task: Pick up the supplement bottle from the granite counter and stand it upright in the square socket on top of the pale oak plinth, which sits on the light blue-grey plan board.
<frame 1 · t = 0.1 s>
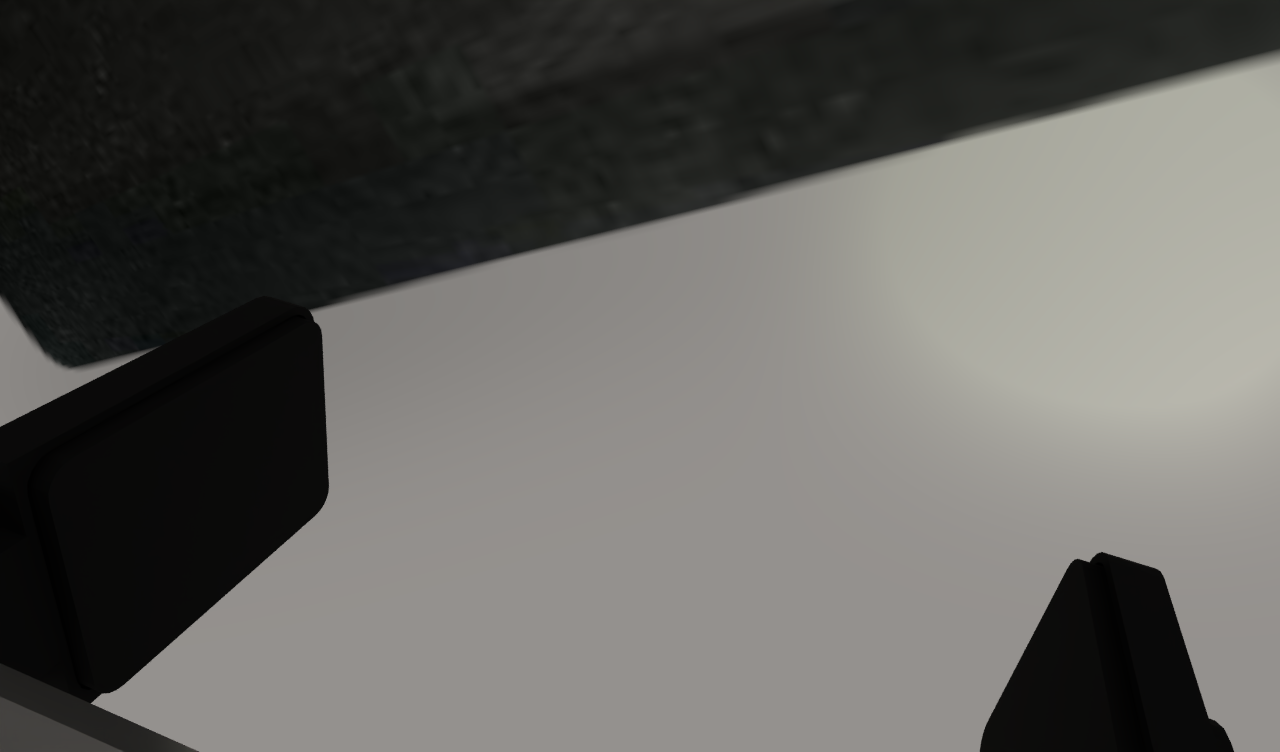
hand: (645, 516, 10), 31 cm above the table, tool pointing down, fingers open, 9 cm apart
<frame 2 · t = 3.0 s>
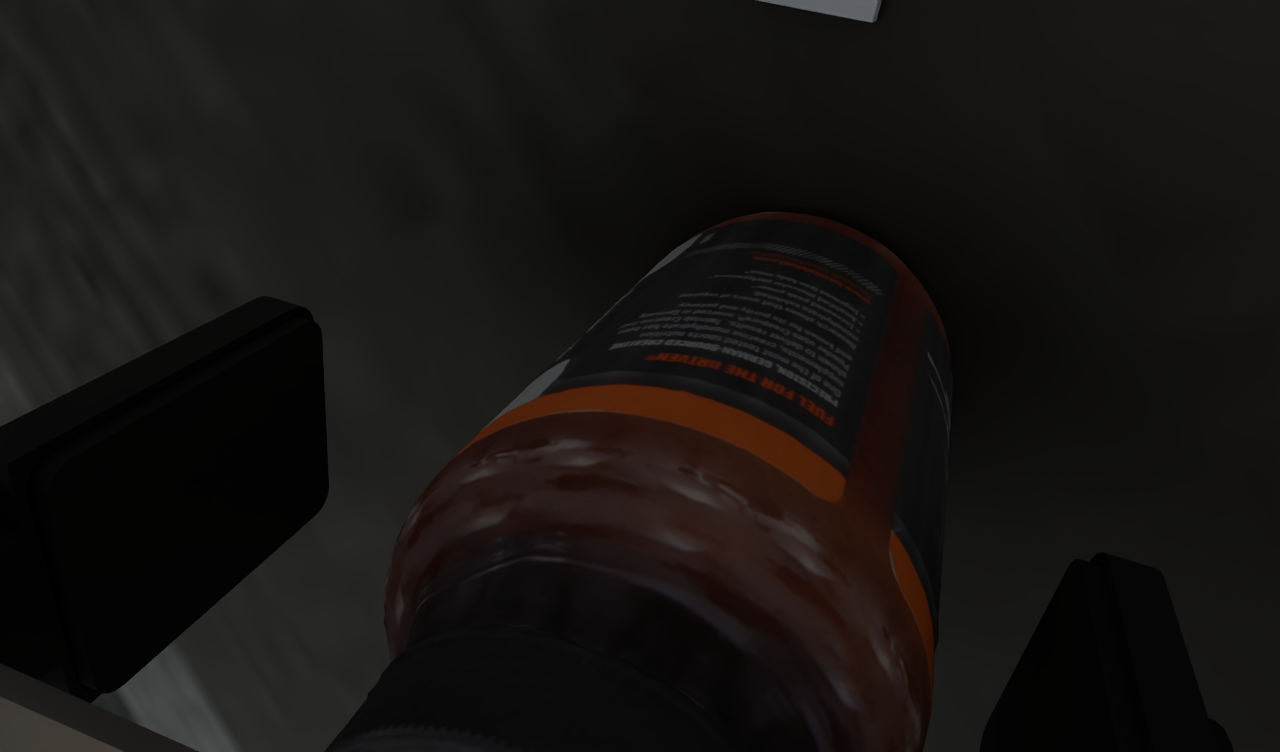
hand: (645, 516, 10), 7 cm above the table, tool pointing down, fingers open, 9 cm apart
supplement bottle: (788, 355, 16), on the table
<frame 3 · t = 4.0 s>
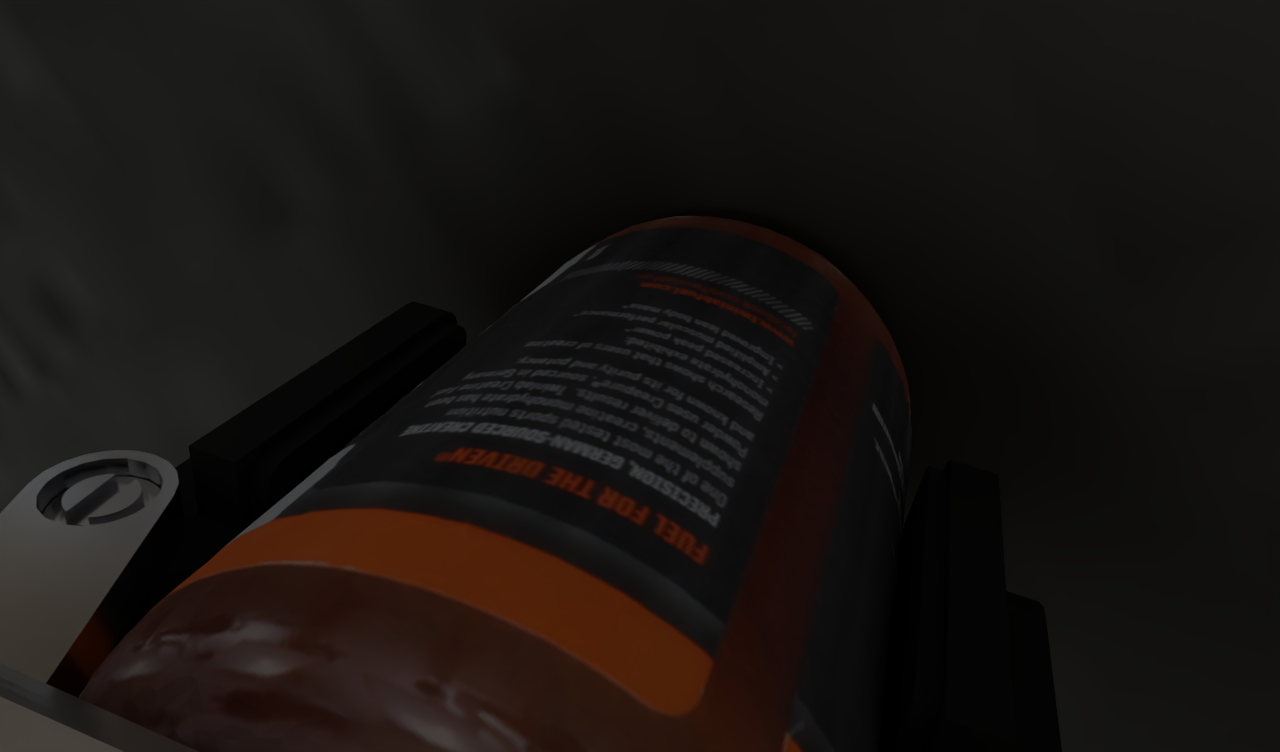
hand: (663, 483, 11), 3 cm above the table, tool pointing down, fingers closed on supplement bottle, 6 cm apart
supplement bottle: (717, 387, 13), on the table, touching gripper
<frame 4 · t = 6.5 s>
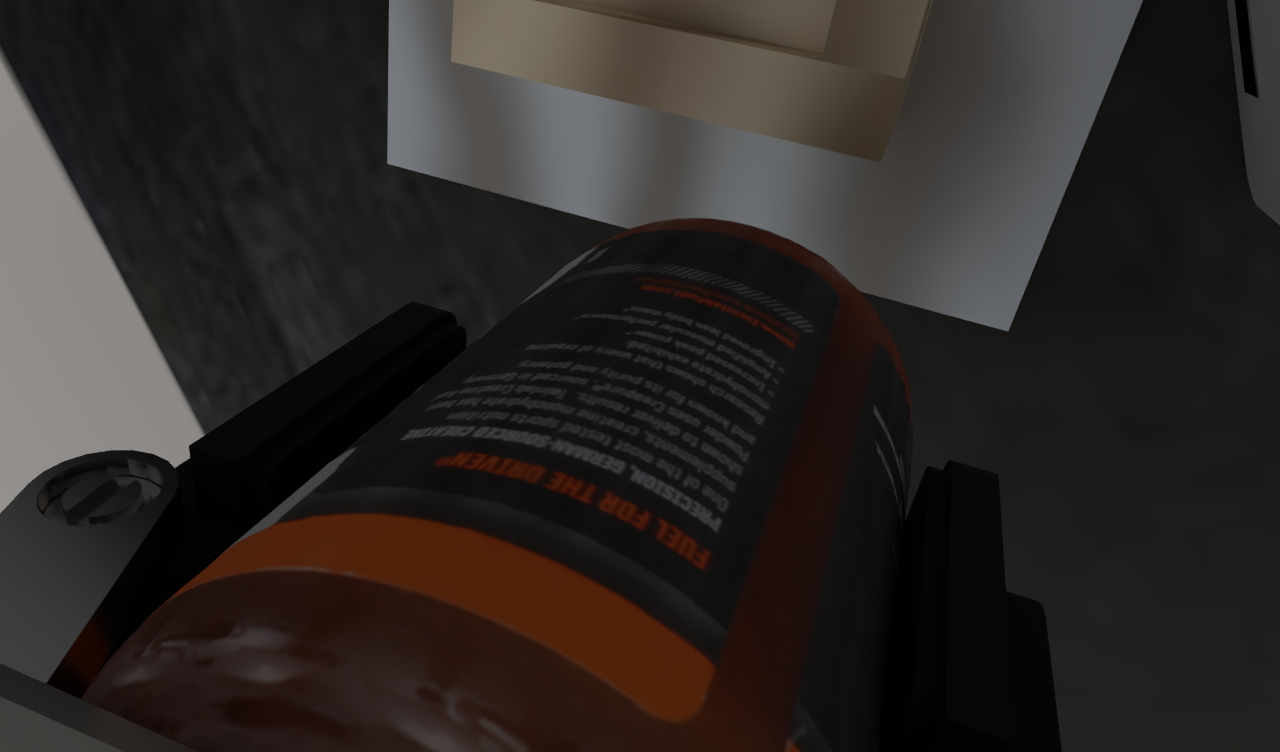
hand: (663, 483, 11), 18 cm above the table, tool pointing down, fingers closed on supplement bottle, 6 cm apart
supplement bottle: (718, 389, 13), point 15 cm above the table, touching gripper
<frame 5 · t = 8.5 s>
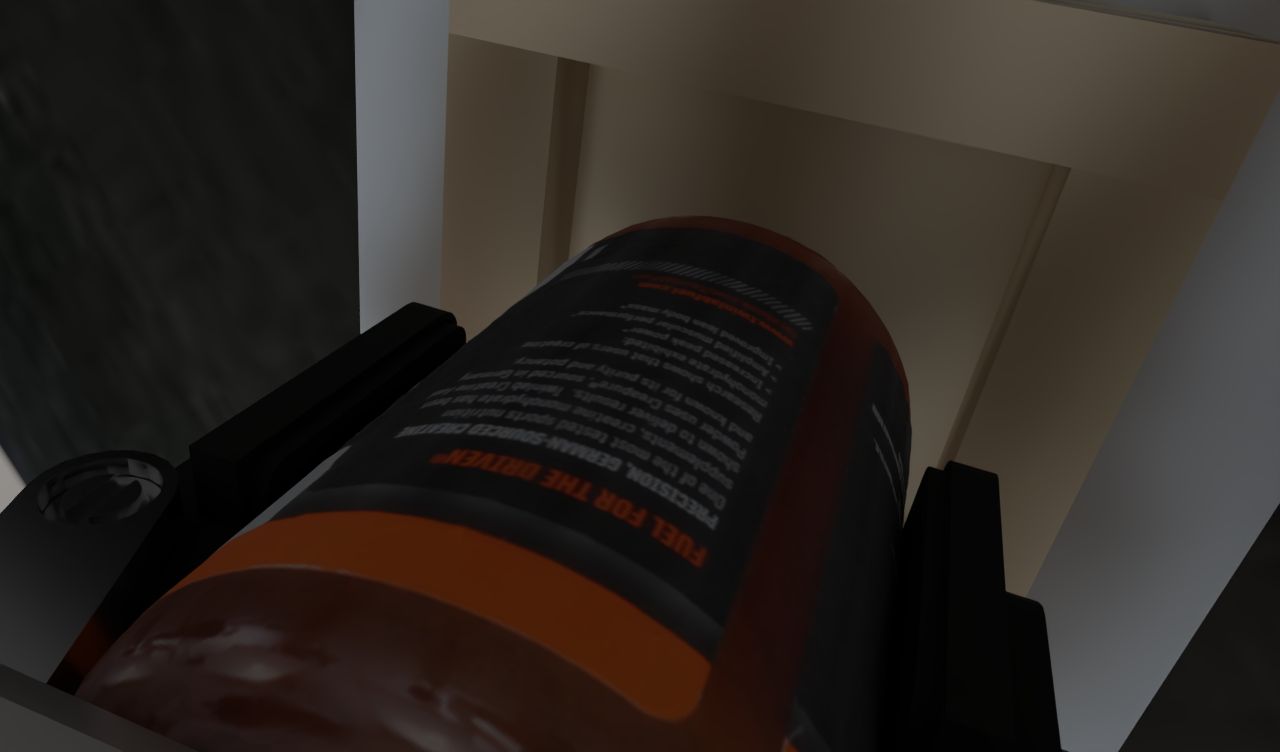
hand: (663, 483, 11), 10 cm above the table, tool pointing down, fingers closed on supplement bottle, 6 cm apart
plinth: (793, 251, 19), on the table
supplement bottle: (717, 387, 13), point 7 cm above the table, touching gripper
when the fingers open (8 cm above the table, at t = 9.2 s): supplement bottle drops 2 cm, resting on plinth.
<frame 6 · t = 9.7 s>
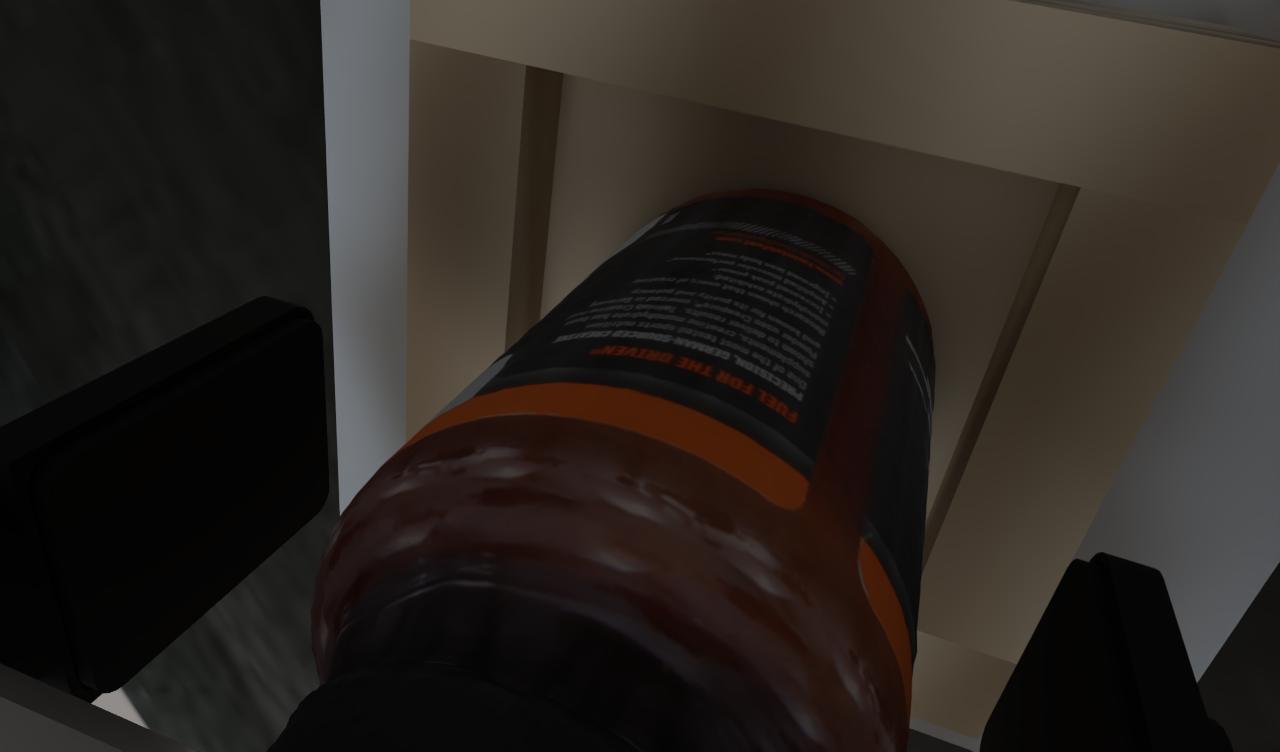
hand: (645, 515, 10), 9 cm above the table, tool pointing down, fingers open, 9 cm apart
plinth: (783, 267, 18), on the table
supplement bottle: (764, 340, 15), point 3 cm above the table, touching plinth
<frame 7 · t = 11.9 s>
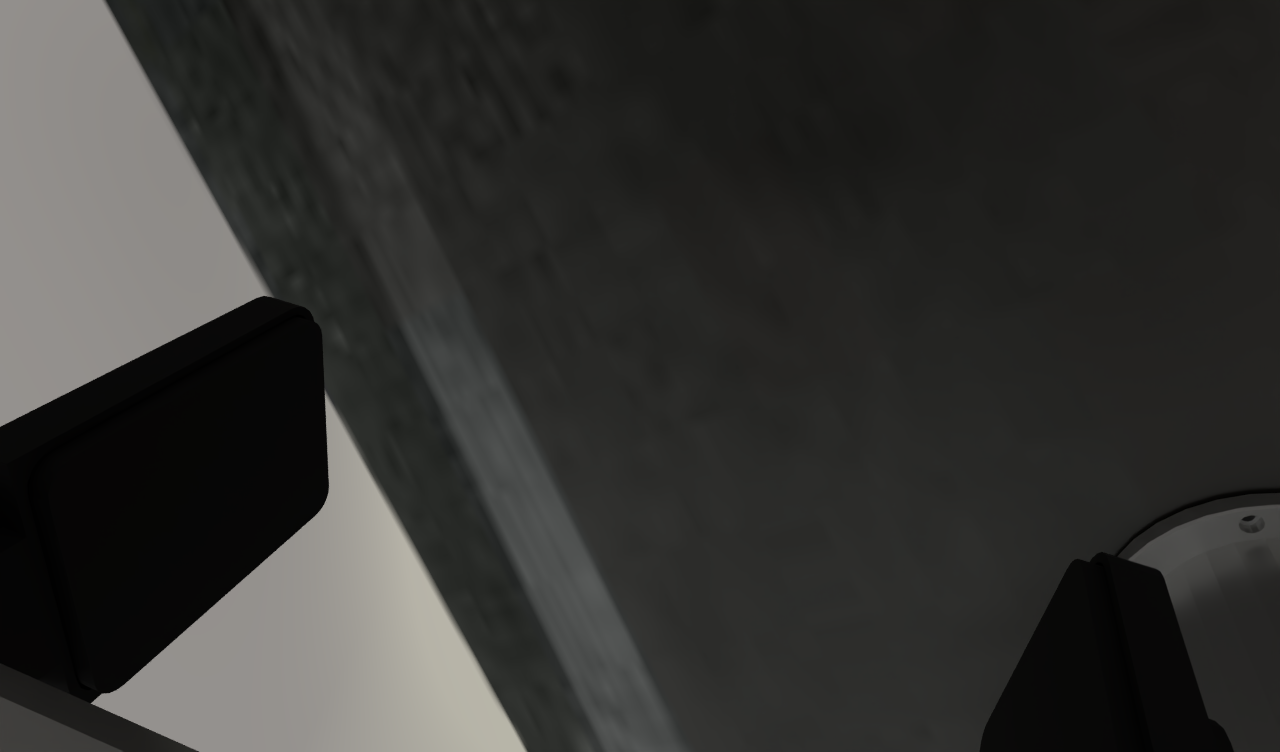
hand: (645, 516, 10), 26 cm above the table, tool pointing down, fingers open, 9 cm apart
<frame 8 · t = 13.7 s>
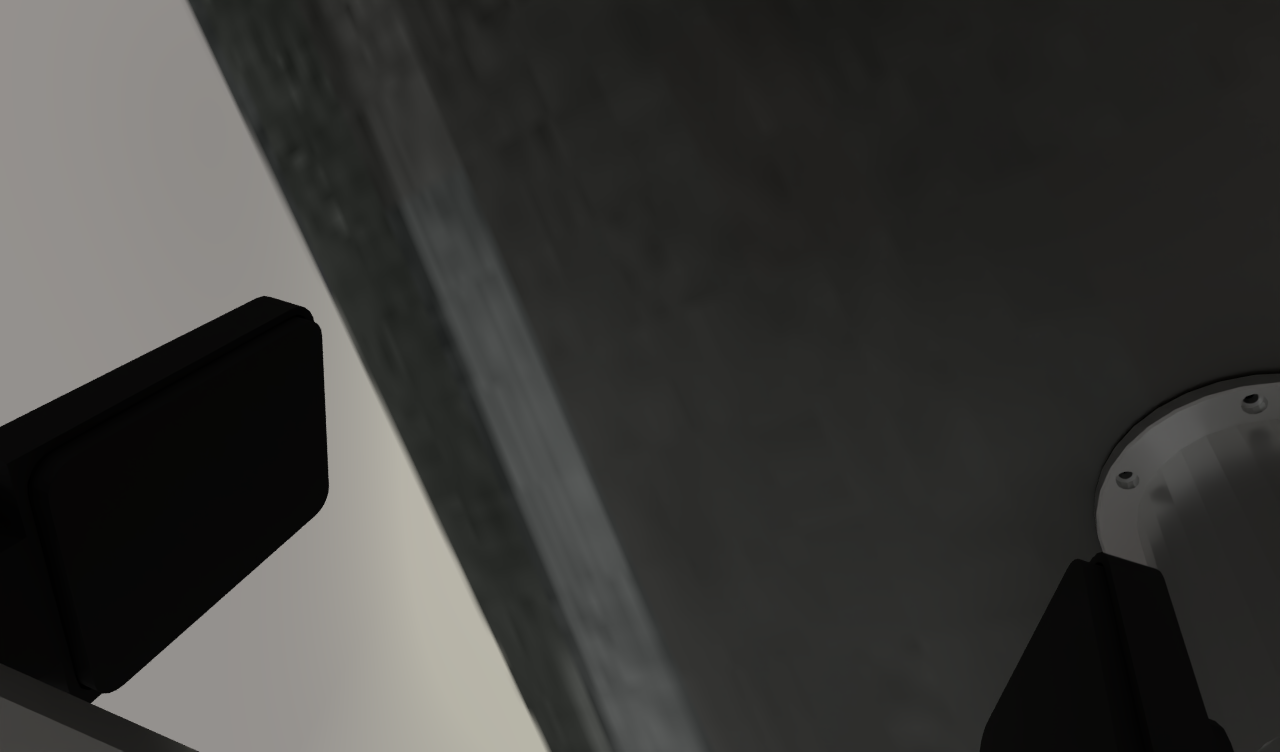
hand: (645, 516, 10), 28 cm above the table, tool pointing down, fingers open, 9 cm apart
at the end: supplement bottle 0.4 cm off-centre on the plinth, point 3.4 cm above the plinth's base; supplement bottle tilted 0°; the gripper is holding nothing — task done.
